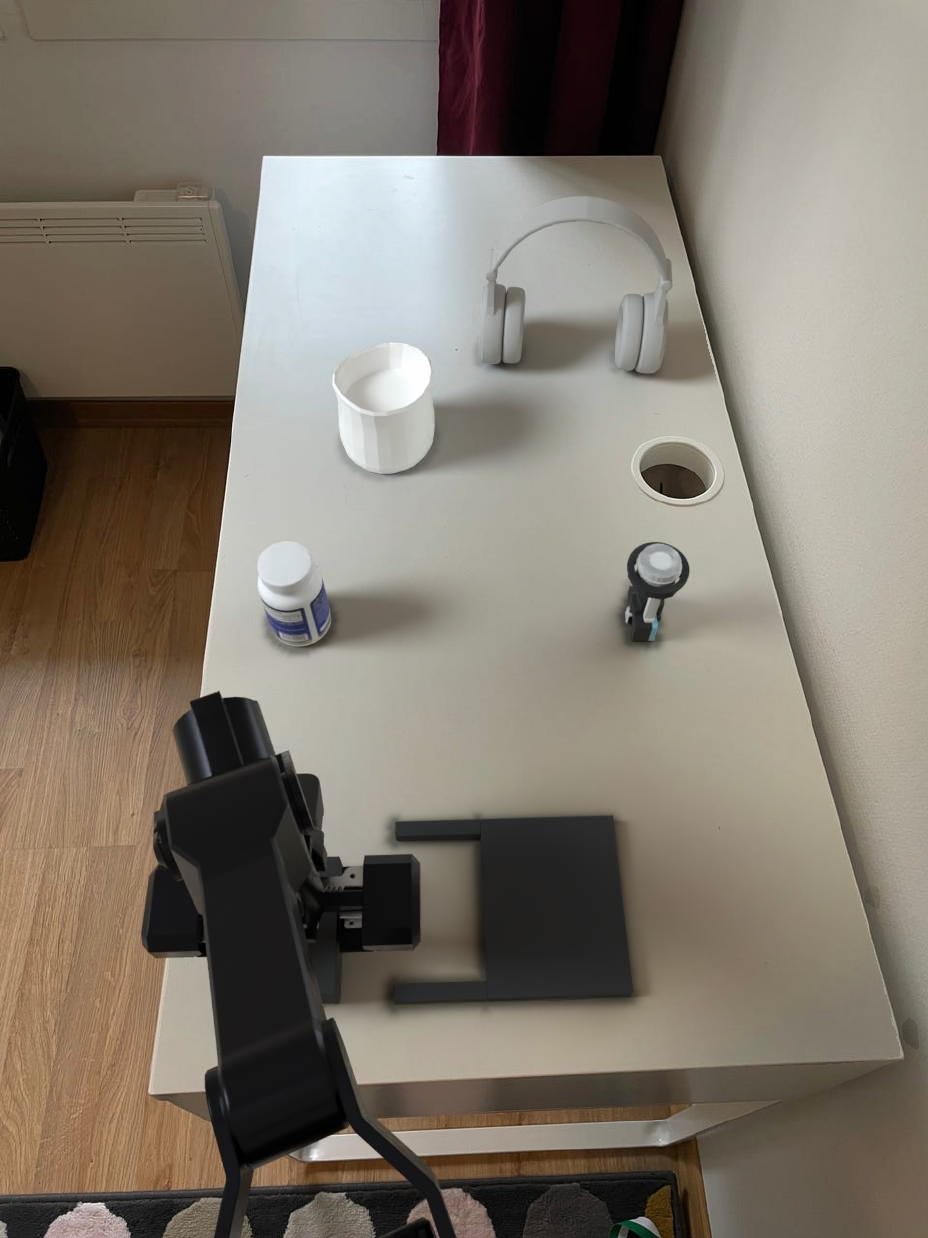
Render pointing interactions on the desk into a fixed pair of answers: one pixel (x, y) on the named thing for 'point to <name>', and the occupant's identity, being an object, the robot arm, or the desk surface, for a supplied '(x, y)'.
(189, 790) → the robot arm
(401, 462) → the cup
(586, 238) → the desk surface
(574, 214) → the headphones
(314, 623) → the pill bottle
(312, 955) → the foam pad
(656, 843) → the desk surface
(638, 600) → the push button
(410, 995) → the base pad
